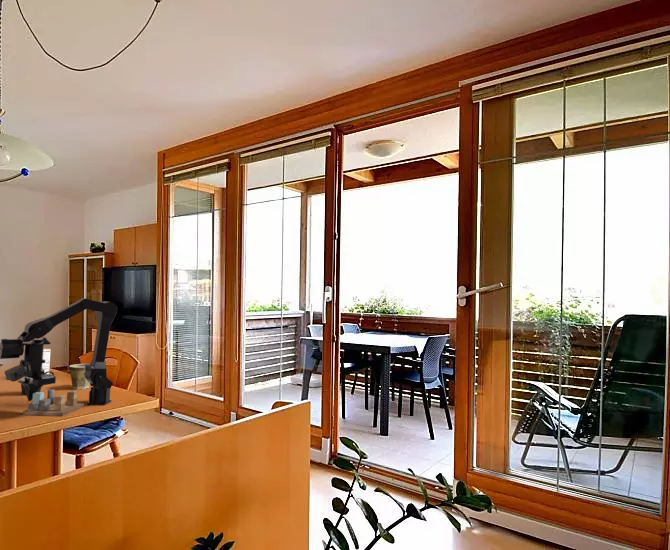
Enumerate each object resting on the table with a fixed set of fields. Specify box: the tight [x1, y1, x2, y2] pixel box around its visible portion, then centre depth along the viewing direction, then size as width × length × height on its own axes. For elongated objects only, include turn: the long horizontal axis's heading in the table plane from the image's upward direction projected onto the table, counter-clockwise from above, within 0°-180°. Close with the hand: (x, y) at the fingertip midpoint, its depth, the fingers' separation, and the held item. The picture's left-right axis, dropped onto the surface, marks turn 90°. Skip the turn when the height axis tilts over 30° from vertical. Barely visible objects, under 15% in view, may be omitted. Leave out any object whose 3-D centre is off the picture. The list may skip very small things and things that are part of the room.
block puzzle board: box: [22, 388, 85, 417], centre depth 171 cm, size 14×14×6 cm
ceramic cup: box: [68, 363, 91, 390], centre depth 211 cm, size 13×10×10 cm
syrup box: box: [42, 348, 51, 374], centre depth 227 cm, size 6×6×14 cm
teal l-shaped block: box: [31, 391, 45, 405], centre depth 170 cm, size 7×2×6 cm, turn 2°
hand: (29, 400), depth 168 cm, fingers closed
